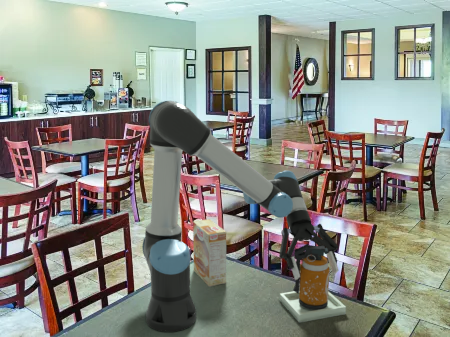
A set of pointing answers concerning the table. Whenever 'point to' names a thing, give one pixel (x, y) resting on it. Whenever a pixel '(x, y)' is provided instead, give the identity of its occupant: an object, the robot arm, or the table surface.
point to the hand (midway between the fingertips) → (317, 275)
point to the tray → (304, 314)
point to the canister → (312, 277)
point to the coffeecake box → (209, 252)
